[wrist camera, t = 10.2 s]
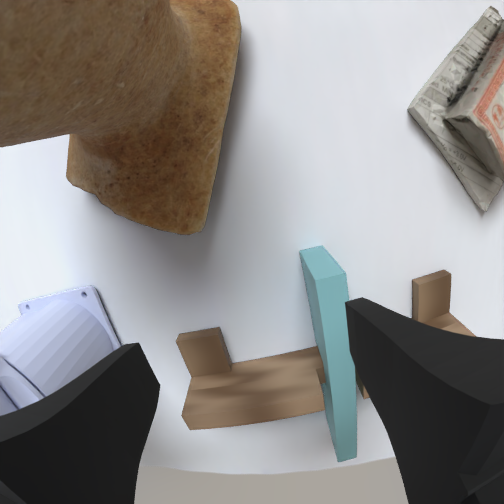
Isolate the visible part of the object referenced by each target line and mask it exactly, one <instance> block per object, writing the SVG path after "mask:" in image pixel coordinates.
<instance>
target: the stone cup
mask: <svg viewBox="0 0 504 504" xmlns="http://www.w3.org/2000/svg"><path fill="white" fill-rule="evenodd" d="M240 38H241V22H240V16H239V11H238V7H237V5H236V4H235V3H234V2H232V1H231V0H0V147H5V146H12V145H16V144H21V143H26V142H31V141H36V140H41V139H47V138H52V137H57V136H61V135H66V134H70V139H69V148H68V160H67V172H66V177H67V179H68V181H69V182H70V183H71V184H72V185H73V186H76V187H79V188H81V189H82V190H84V191H86V192H89V193H93V194H95V195H96V196H97V197H98V199H99V200H100V202H101V203H102V204H103V205H105V206H107V207H109V208H110V209H111V210H112V211H113V212H114V213H115V214H117V215H120V216H123V217H125V218H127V219H129V220H132V221H134V222H137V223H140V224H143V225H146V226H149V227H152V228H155V229H158V230H163V231H167V232H172V233H177V234H180V235H190V234H193V233H195V232H201V231H202V229H203V228H204V226H205V222H206V218H207V213H208V209H209V204H210V199H211V194H212V188H213V184H214V181H215V176H216V171H217V166H218V161H219V155H220V150H221V142H222V135H223V129H224V125H225V120H226V116H227V112H228V107H229V102H230V96H231V91H232V86H233V81H234V75H235V68H236V61H237V55H238V50H239V44H240Z"/></svg>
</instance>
